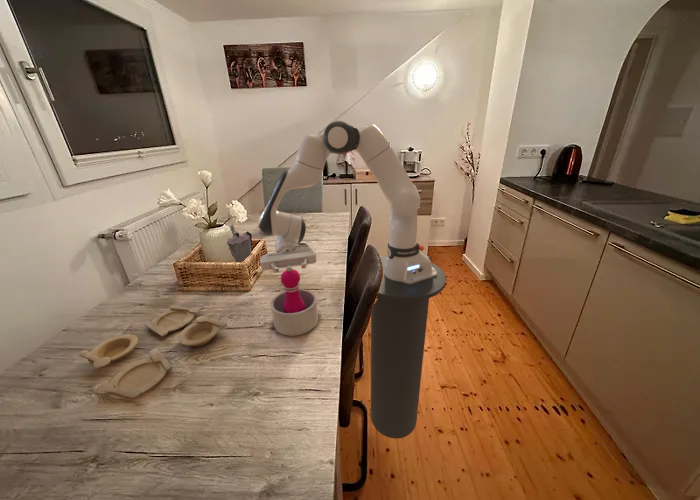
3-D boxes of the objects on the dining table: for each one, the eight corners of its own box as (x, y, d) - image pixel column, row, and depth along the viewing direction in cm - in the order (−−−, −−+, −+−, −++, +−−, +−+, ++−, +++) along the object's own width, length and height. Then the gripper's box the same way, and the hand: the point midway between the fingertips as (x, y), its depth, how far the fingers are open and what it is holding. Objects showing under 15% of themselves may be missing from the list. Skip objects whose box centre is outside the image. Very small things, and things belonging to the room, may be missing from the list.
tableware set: (183, 304, 105) (181, 295, 103) (239, 326, 92) (237, 316, 91) (63, 371, 77) (57, 360, 75) (120, 416, 64) (113, 404, 62)
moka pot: (228, 281, 120) (217, 237, 112) (246, 265, 134) (238, 225, 126) (248, 282, 118) (239, 238, 110) (264, 266, 132) (258, 226, 124)
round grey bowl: (314, 304, 102) (312, 286, 99) (321, 330, 89) (319, 309, 86) (273, 312, 99) (270, 293, 96) (274, 339, 86) (271, 318, 83)
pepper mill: (311, 317, 95) (305, 264, 87) (296, 329, 89) (288, 274, 81) (295, 310, 99) (288, 259, 91) (280, 321, 93) (271, 268, 85)
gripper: (258, 249, 107) (258, 264, 94) (312, 242, 111) (318, 256, 99) (261, 264, 109) (261, 281, 97) (313, 256, 114) (319, 272, 102)
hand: (290, 268), depth 98 cm, fingers open, 8 cm apart
